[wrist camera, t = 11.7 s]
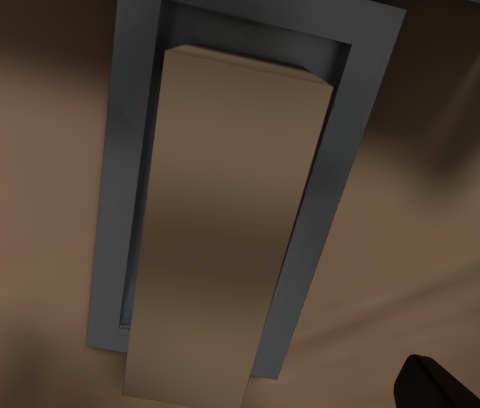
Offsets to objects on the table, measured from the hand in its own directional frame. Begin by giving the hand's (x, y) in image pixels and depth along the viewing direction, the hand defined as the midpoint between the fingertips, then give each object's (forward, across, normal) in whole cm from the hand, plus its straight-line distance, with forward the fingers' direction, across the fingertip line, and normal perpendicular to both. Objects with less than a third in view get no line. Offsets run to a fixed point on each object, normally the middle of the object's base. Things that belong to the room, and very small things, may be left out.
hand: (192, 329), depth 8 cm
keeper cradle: (+8, 0, 0) cm, 8 cm away
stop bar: (+8, 0, 0) cm, 8 cm away
